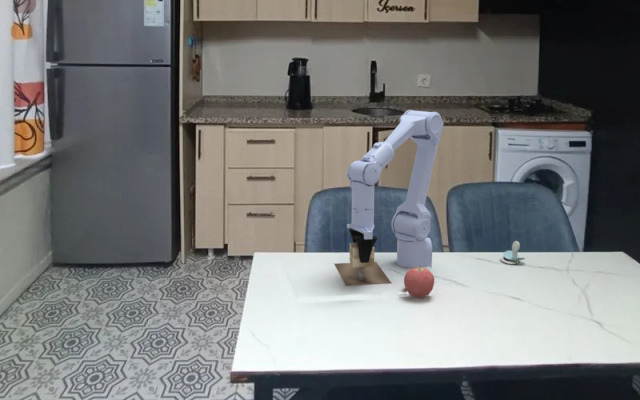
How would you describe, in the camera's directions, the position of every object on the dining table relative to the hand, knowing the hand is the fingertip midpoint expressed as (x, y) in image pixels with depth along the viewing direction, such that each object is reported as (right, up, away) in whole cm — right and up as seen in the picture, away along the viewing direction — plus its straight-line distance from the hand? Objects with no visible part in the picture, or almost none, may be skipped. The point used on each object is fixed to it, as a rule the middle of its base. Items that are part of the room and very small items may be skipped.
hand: (362, 258), depth 175 cm
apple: (+14, -9, -6) cm, 18 cm away
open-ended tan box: (0, -1, 0) cm, 1 cm away
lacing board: (0, -6, +7) cm, 9 cm away
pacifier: (+45, -3, +21) cm, 49 cm away
